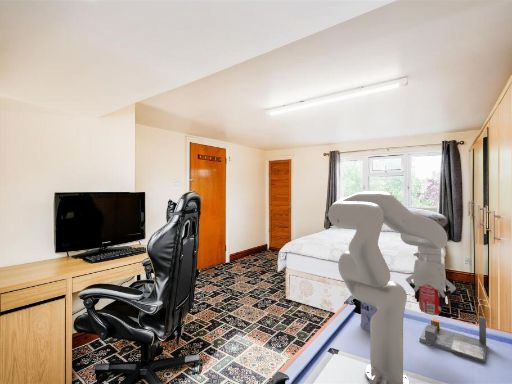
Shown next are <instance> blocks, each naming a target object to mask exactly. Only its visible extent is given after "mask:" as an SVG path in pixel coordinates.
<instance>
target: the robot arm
mask: <svg viewBox="0 0 512 384" xmlns="http://www.w3.org/2000/svg"><path fill="white" fill-rule="evenodd" d="M327 213H328V214H327V215H328V220H329V222H330V223H331V224H332V225H333V226H335V227H337V228H341V229H348V230H355V233H354V235H353V237H352V238H351V241H350V242H349V245H348V251H345V252H343V253H341V255H340V257H339V258H338V259H339V260H338V265H337V267H338V272H339V275H340V278H341V279H342V281H343V282H344V284H345V286H346V288H347V289H348V292H349V293H350V294H351V296H352V297H353V298H355V299H356V300H357V301H359V302H361V301H362V302H364V303H367V304H369V305H372V306H374V307H376V308H377V312H376V313H375V314H374V315H373V316H372V318H371V321H370V331H369V334H370V338H369V339H370V342H369V343H370V345H369V346H370V352H369V353H370V357H369V358H370V363H369V364H370V365H369V364H368V365H366V367H365V370H364V371H365V373H366V374H365V377H366V376H367V377H366V379H367V378H368V379H369V380H368V379H367V380H368V382H369V384H410V380H409V378H408V376H407V375H406V374H405V375H403V373H404V316H405V311H406V304H407V296H408V295H407V291H406V290H405V288H404V287H403V286H402V285H401V284H399V283H397V282H396V281H393V280H391V273H390V269H389V266H388V264H387V261H386V260H385V257H384V255H383V253H382V252H381V249H380V247H379V239H380V235H381V231H382V229H383V225H385V226H387V227H388V228H389V229H391V230H392V231H394V232H397V233H400V239H401V241H402V242H403V243H404V244H406V245H409V246H414V247H417V251H416V252H413V256H414V257H416V259H415V260H414V264H413V265H414V266H413V274H411V275H410V276H407V277H406V278H405V281H406V282H407V283H408V285H409V286H410V287H411V289H412V290H413V292H414V300H416V303H419V286H420V287H422V286H423V285H426V284H428V285H431V286H432V287H433V288H434V289H436V290H439V292H440V294H441V296H440V307H441V309H443V308H444V306H446V298H447V297H448V296H449V295H451V294H452V293H453V292H454V291H456V289H457V288H456V286H455V285H454V284H453V283H452V282H450V281H449V280H448V279H447V277H446V268H445V264H444V261H442V249H443V248H445V247H446V246H447V243H448V234H447V232H446V230H445V229H444V227H443V226H442V225H440V223H438V221H435V220H434V219H432V218H429V217H426V216H424V215H422V214H420V213H417V212H415V211H411V210H409V209H408V208H407V207H406V206H405V205H403V203H402V202H400V200H398V198H396V197H395V196H394V195H393V194H392V193H389V192H387V191H361V192H357V193H354V194H351V195H349V196H346V197H343V198H342V199H339V200H337V201H334V203H332V204H331V206H330V207H329V208H328V212H327ZM427 282H428V283H427ZM446 286H447V287H448V288H449V289H447V290H446ZM404 377H405V378H406V379H405V378H404Z"/></svg>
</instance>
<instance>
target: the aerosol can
mask: <svg viewBox="0 0 512 384" xmlns="http://www.w3.org/2000/svg"><path fill="white" fill-rule="evenodd" d="M376 312H377V308H376V307H374V306H372V305H369V304H367V303H364V302H362V301H360V327H361V328H363V329H364V330H365V331H368V332H370V321H371V318H372V316H373V315H374V314H375V313H376Z"/></svg>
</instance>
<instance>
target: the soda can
mask: <svg viewBox="0 0 512 384" xmlns="http://www.w3.org/2000/svg"><path fill="white" fill-rule="evenodd" d="M427 283H428V282H427ZM440 296H441V294H440V292H439V290H436V289H434V288H433V287H432V286H431V285H428V284H426V285H423V286H422V287H420V286H419V302H418V307H419V310H421V312H422V313H424V314H426V315H429V316H437V315H439V314H441V310H442V308H441V307H440Z"/></svg>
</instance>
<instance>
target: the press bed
mask: <svg viewBox="0 0 512 384" xmlns="http://www.w3.org/2000/svg"><path fill="white" fill-rule="evenodd" d="M427 326H428V324H425V327H424V328H423V331H422V332H421V334H420V336H419V337H418V338H419V343H423V344H426V345H428V346H433V347H435V348H439V349H441V350H444V351H448V352H450V353H454V354H457V355H459V356H463V357H465V358H468V359H472V360H474V361H477V362H480V363H483V364H485V363H486V357H487V356H486V354H487V317H485V316H481V315H479V316H478V326H479V327H478V328H479V329H478V332H479V335H478V336H479V338H476V337H472V336H468V335H465V334H461V333H458V332H454V331H451V330H448V329H443V328H441V327H440V330H437V337H436V339H435V341H434V342H432V341H429V340H426V339H425V330H426V328H427Z"/></svg>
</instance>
